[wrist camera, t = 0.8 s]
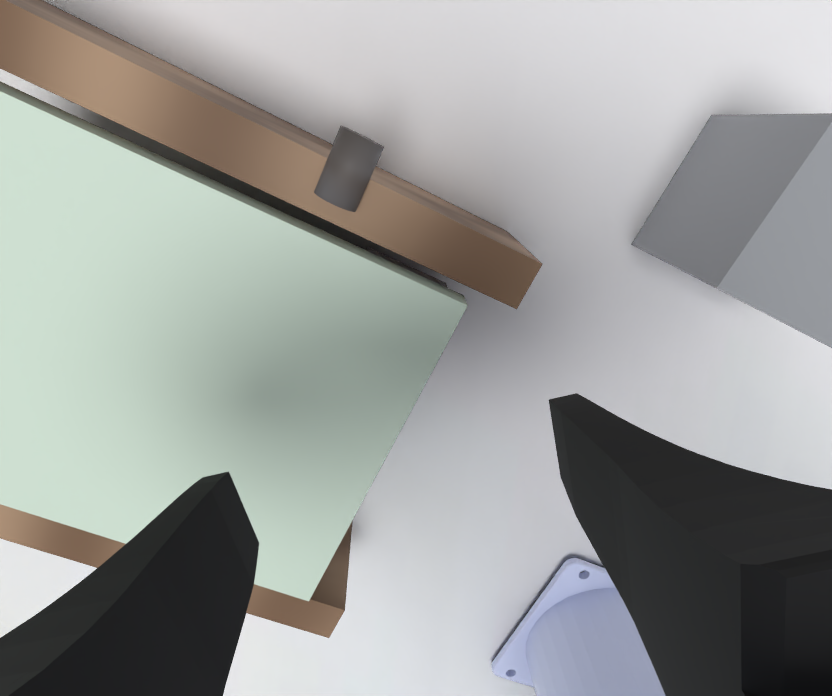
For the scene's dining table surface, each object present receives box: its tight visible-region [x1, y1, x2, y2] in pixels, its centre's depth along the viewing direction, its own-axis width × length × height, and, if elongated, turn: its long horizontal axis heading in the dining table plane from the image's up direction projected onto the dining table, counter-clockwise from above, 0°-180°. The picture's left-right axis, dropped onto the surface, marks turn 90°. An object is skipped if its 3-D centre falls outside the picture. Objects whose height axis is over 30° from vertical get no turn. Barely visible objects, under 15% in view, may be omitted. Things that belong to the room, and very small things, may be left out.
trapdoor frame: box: [0, 0, 542, 638], centre depth 19 cm, size 18×18×6 cm
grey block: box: [632, 114, 832, 348], centre depth 18 cm, size 5×5×6 cm
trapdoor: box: [0, 82, 468, 601], centre depth 18 cm, size 14×12×4 cm
